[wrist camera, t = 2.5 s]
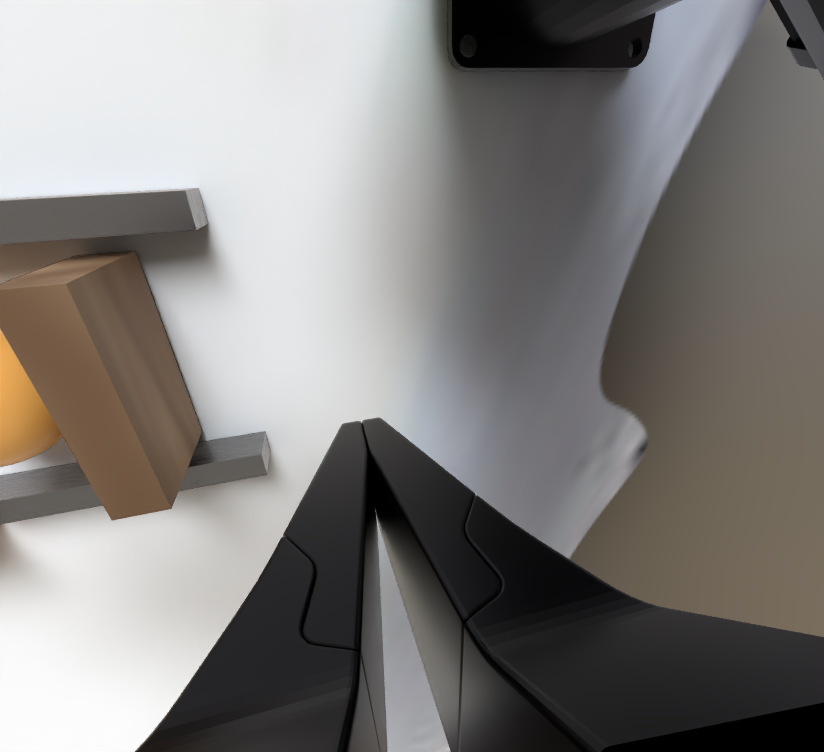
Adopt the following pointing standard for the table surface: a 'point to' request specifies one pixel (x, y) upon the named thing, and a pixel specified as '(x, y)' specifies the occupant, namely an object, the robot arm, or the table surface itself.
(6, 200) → the track
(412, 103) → the table surface
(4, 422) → the ball
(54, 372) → the brown wooden block
